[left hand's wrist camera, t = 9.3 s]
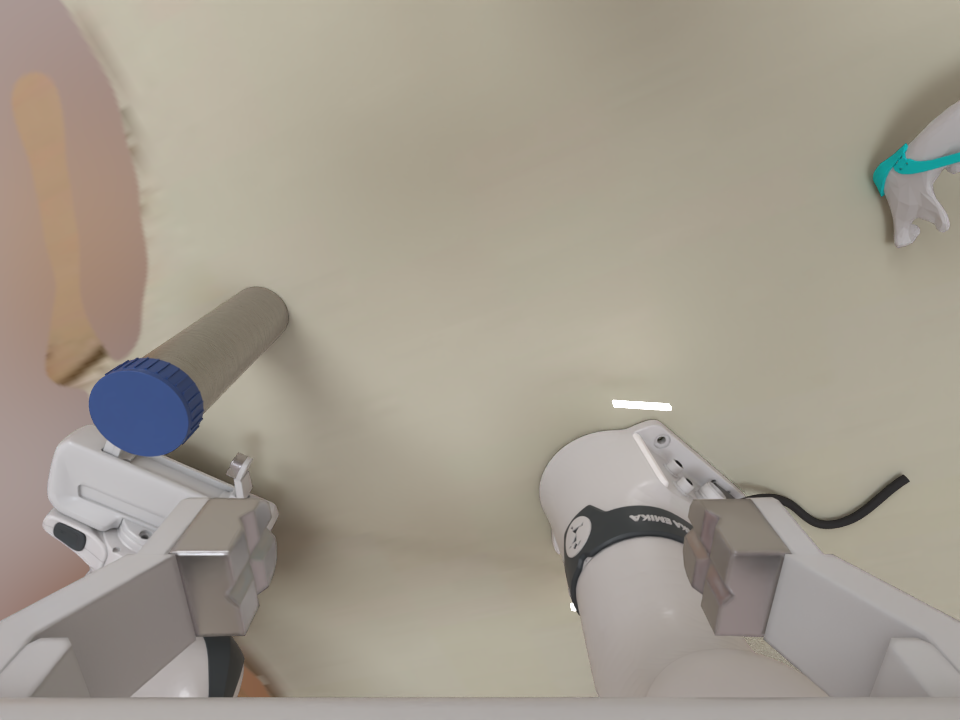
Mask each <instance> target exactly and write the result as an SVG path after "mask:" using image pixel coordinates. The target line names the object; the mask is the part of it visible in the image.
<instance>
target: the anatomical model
mask: <svg viewBox="0 0 960 720" xmlns="http://www.w3.org/2000/svg"><path fill="white" fill-rule="evenodd" d="M944 168H946V170H947V171H948V172H950V173H952V174H955V173H958V172H960V100H959V101H957V102H956V103H954V104H953V105H951V106H950V107H948V108H947V109H946V110H945V111H943V112H942V113H941V114H940V115H939V116H937V117H936V118H935V119H934V120H932V121H931V122H930V123H929V124H928V125H927V126H926V127H925V128H924V129H923V130H922V131H921V132H920V133H919V134H918V135H917V136H916V137H915V138H914V139H913V140H912V141H911V142H910V143H909V144H908V145H907V144H906V143H905V144H904V145H903V146H902V147H901V148H900V149H899V150H898V151H897V152H896V153H895V154H893V155H892V156H891V157H889V158H888V159H886V160H885V161H883V162H882V163H881V164H880V165H879V166H878V167H877V168H876V170H875V172H874V174H873V181H874V183H875V184H876V186H877V188H878V191H879V193H880V195H881V197H882V196H883V195H885V196H886V198H887V201H888V203H889V207H890V210H891V213H892V217H893V224H894V243H895V245H896V247H897V248H899V247H904V246H907V245H909V244H911V243H913V242H914V240H915V239H916V237H917V236H918V235H919V233H920V228H919V227H918V226H917V225H914V224H911V223H912V222H913V221H914V220H915V219H916V218H921V219H924V220H927V221H929V222H931V223H933V224H934V225H935V226H936V228H937V229H938V230H939V231H940V232H945V231H947V230H948V229H949V227H950V223H949V219H948V215H947V213H946V212H945V210H944V208H943V207H942V205H941V204H940V203H939V201H938V200H937V199H936V197H935V194H934V191H933V183H934V182H935V180H936V179H937V178H938V176H939V174H940V173H941V171H942V170H943V169H944Z"/></svg>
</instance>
